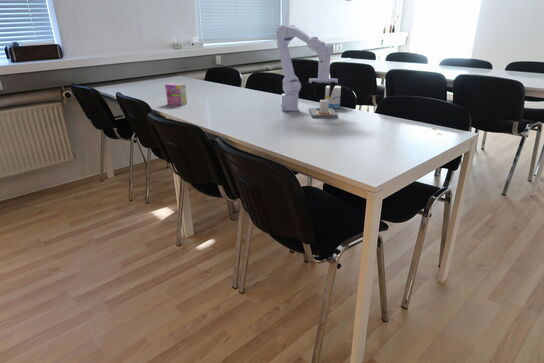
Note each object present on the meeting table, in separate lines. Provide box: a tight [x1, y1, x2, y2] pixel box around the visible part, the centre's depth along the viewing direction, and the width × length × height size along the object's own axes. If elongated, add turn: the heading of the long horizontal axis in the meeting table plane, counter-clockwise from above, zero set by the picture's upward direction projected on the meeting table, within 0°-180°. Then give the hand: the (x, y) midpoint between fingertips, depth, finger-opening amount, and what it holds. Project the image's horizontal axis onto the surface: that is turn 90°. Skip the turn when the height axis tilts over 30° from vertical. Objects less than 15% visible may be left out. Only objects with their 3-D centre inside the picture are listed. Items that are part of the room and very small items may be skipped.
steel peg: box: [319, 99, 329, 114], centre depth 195 cm, size 4×4×8 cm
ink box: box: [324, 85, 342, 110], centre depth 216 cm, size 8×8×12 cm
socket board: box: [308, 107, 339, 119], centre depth 200 cm, size 13×18×2 cm
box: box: [164, 82, 188, 106], centre depth 224 cm, size 10×6×12 cm, turn 68°
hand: (322, 96), depth 196 cm, fingers open, 7 cm apart
